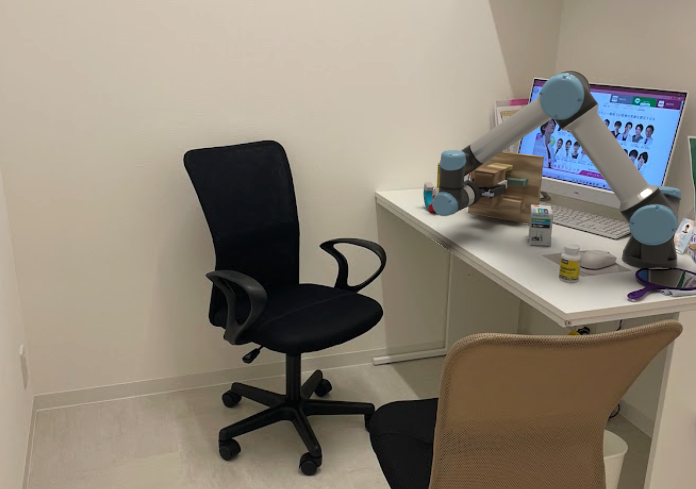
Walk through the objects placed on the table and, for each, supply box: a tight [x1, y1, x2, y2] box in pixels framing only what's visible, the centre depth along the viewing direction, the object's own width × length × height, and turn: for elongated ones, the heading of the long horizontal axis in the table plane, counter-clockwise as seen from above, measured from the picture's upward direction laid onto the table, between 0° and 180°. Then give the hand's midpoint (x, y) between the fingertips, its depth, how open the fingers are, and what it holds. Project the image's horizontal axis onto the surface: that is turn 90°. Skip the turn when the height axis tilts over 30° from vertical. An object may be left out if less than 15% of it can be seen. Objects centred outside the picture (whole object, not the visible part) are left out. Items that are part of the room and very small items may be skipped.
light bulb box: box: [528, 204, 554, 247], centre depth 226 cm, size 11×7×11 cm, turn 168°
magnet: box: [422, 181, 439, 213], centre depth 259 cm, size 12×3×10 cm, turn 16°
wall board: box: [467, 150, 545, 225], centre depth 247 cm, size 11×26×24 cm, turn 54°
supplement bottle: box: [558, 243, 582, 283], centre depth 194 cm, size 5×5×10 cm
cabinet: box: [474, 163, 513, 208], centre depth 241 cm, size 16×7×12 cm, turn 144°
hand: (495, 182), depth 242 cm, fingers closed on cabinet, 7 cm apart
